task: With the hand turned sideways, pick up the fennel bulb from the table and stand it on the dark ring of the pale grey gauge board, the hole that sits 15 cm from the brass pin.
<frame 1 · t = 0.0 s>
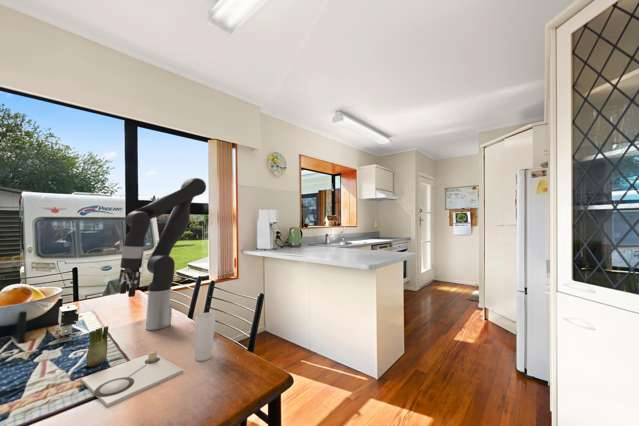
hand: (126, 295, 110), 17 cm above the table, tool pointing down, fingers open, 8 cm apart
pneumatic valve: (67, 334, 111), on the table
gauge board: (134, 376, 80), on the table
fennel bulb: (96, 365, 87), on the table
drinking glass: (203, 358, 92), on the table
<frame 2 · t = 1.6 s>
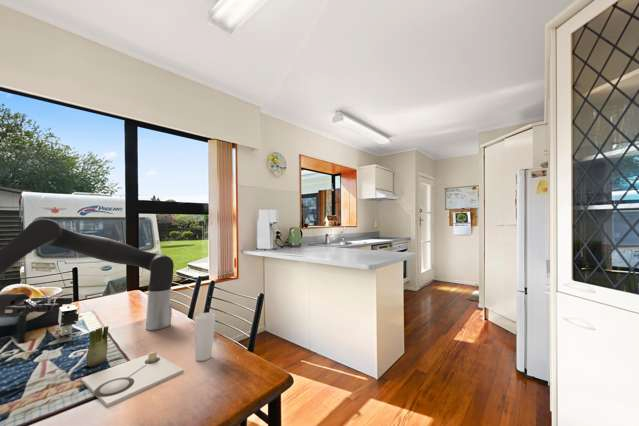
hand: (62, 304, 86), 20 cm above the table, tool horizontal, fingers open, 8 cm apart
nothing on the table moved.
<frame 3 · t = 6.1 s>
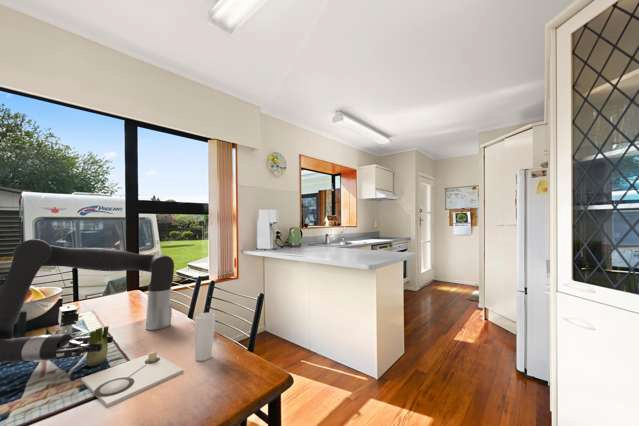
hand: (106, 343, 88), 7 cm above the table, tool horizontal, fingers closed on fennel bulb, 5 cm apart
fennel bulb: (96, 365, 87), on the table, touching gripper
everything else where it was.
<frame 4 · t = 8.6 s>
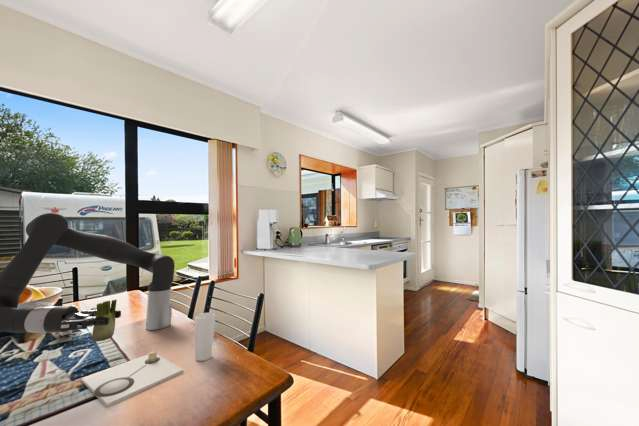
hand: (114, 317, 82), 18 cm above the table, tool horizontal, fingers closed on fennel bulb, 5 cm apart
fennel bulb: (103, 340, 81), point 11 cm above the table, touching gripper
everything else where it was.
when the fingers open (8 cm above the table, at t = 11.5 s): fennel bulb stays where it is, resting on gauge board.
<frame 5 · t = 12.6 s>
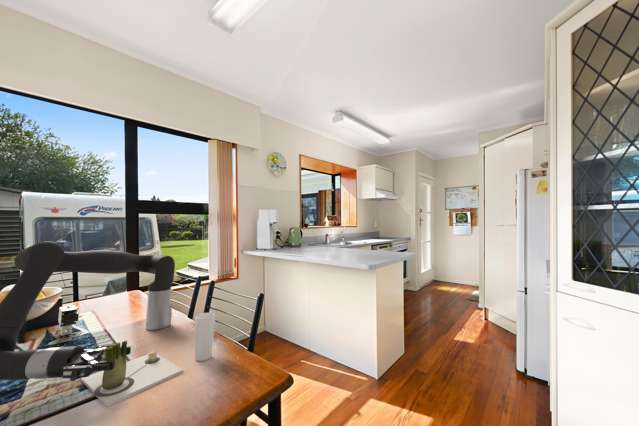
hand: (122, 357, 74), 9 cm above the table, tool horizontal, fingers open, 8 cm apart
fennel bulb: (113, 387, 73), point 1 cm above the table, touching gauge board
everything else where it was.
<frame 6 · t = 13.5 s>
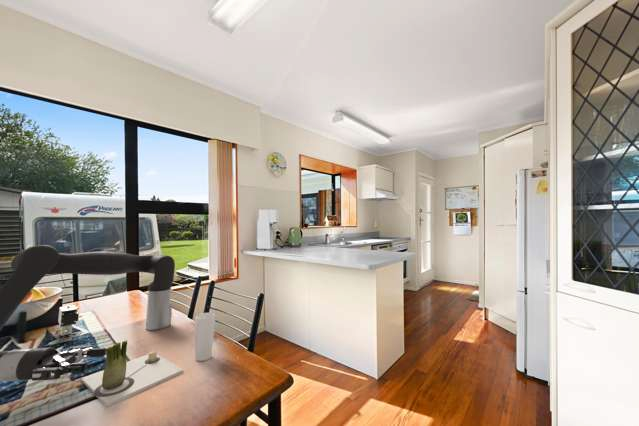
hand: (96, 359, 73), 9 cm above the table, tool horizontal, fingers open, 8 cm apart
nothing on the table moved.
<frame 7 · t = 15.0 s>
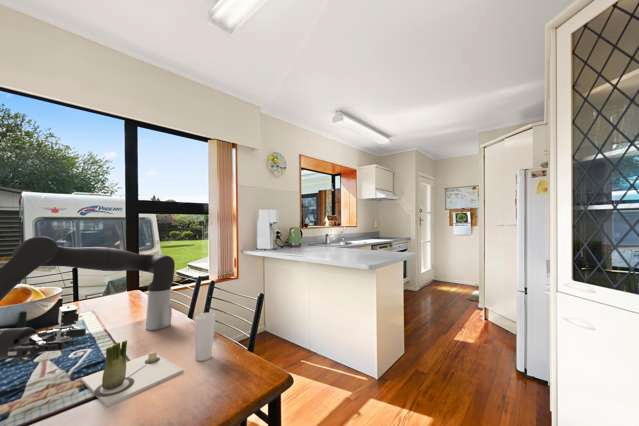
hand: (74, 338, 73), 15 cm above the table, tool horizontal, fingers open, 8 cm apart
nothing on the table moved.
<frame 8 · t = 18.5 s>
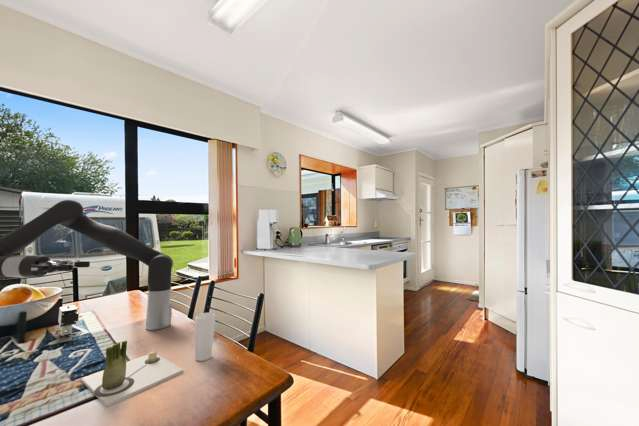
hand: (81, 265, 93), 32 cm above the table, tool horizontal, fingers open, 8 cm apart
nothing on the table moved.
at the end: fennel bulb 0.3 cm from the target spot on the gauge board, point 0.7 cm above the gauge board's base; fennel bulb tilted 0°; the gripper is holding nothing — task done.
